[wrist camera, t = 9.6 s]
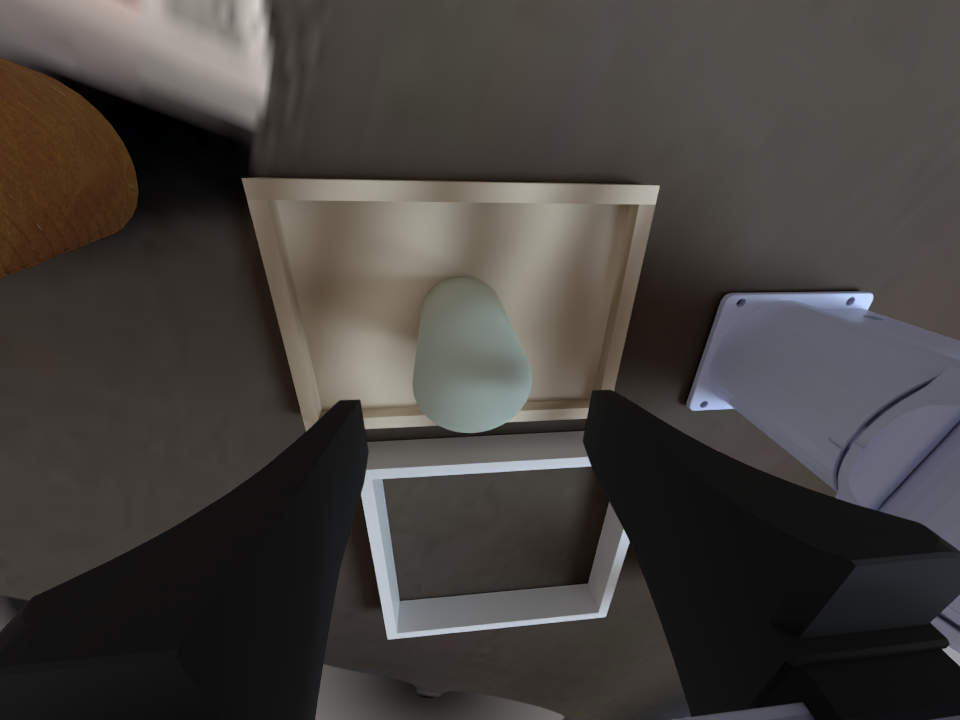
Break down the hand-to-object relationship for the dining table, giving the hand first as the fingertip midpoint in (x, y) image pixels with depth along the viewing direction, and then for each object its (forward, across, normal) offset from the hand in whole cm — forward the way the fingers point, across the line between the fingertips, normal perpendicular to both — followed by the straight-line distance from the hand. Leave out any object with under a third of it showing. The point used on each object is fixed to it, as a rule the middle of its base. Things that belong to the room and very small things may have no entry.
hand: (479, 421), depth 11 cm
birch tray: (+10, 0, 0) cm, 10 cm away
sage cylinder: (+9, 0, 0) cm, 9 cm away
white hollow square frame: (+10, -3, +18) cm, 21 cm away
